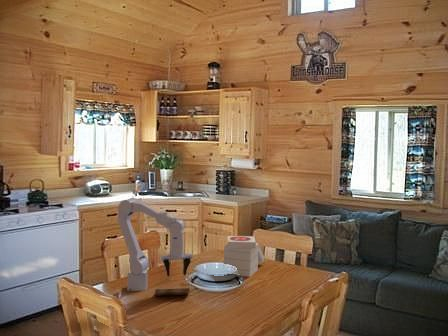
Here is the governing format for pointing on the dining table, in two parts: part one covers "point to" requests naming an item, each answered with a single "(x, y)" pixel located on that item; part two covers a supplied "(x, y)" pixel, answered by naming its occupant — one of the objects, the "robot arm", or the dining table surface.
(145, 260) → the robot arm
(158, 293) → the walnut plank
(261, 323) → the dining table surface
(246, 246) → the pizza boxes
